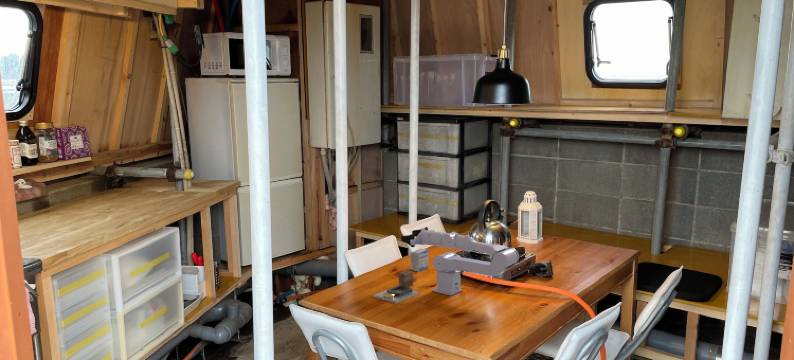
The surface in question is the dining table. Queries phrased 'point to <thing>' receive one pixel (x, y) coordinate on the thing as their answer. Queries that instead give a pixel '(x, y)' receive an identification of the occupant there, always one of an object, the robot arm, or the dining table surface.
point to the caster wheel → (542, 268)
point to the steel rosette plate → (396, 294)
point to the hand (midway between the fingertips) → (407, 235)
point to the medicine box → (419, 260)
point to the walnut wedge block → (406, 278)
